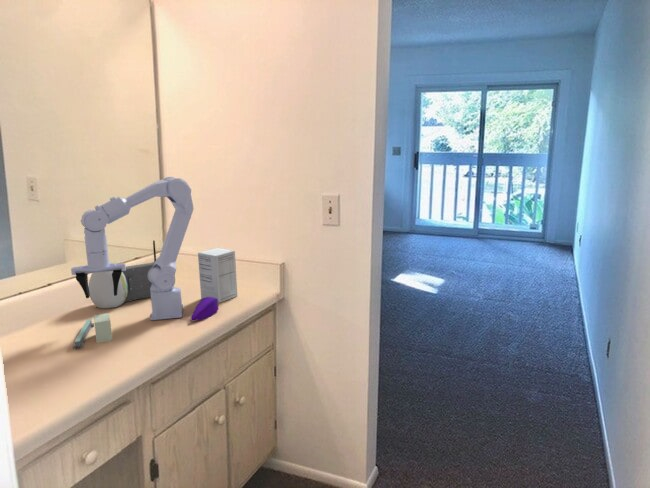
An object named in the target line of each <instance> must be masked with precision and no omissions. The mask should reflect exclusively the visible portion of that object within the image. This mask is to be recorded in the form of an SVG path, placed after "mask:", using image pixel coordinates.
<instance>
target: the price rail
mask: <svg viewBox="0 0 650 488" xmlns="http://www.w3.org/2000/svg"><path fill="white" fill-rule="evenodd" d="M84 322H85V323H84V324H83V325H82V327H81V329H80V330H79V333H78V334H77V336H76V338H75V340H74V344H73V345H72V350H81V349H84V342H86V341H85V340H86V339H87V337H88V334H89V333H90V331H91V328H95V323H94V322H93V321H92V318H87V319H86V320H85V321H84Z"/></svg>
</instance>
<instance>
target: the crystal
mask: <svg viewBox="0 0 650 488" xmlns="http://www.w3.org/2000/svg"><path fill="white" fill-rule="evenodd" d="M218 311H219V303H218V299H217V298H213V297H205V298H203V299H201V300H200V301H199V302H198V304H197V305H196V307H195V308H194V310H193V312H192V315H191V321H192V322H193V321H200V320H204V319H208V318H210V317H211V316H213V315H215V314H216V313H218Z"/></svg>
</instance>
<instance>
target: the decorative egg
mask: <svg viewBox="0 0 650 488" xmlns="http://www.w3.org/2000/svg"><path fill="white" fill-rule="evenodd" d="M109 263H112V262H110V261H109ZM112 273H113V271H110V272H98V273H91V274H90V278H89V279H88V287H89V292H90V297H89V298H90V300H91V302H92V303H93V305H94V306H96V308H99V309H113V308H117V307H120V306H122V305H123V304H124V303H125V302H124V301H125V299H126V297H127V294H128V284H127V280H126V277H125V275H124V273H123V272H122V273H121V276H120V280H119V283H118V290H117V295H116V296H114V285H113V279H112Z"/></svg>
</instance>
